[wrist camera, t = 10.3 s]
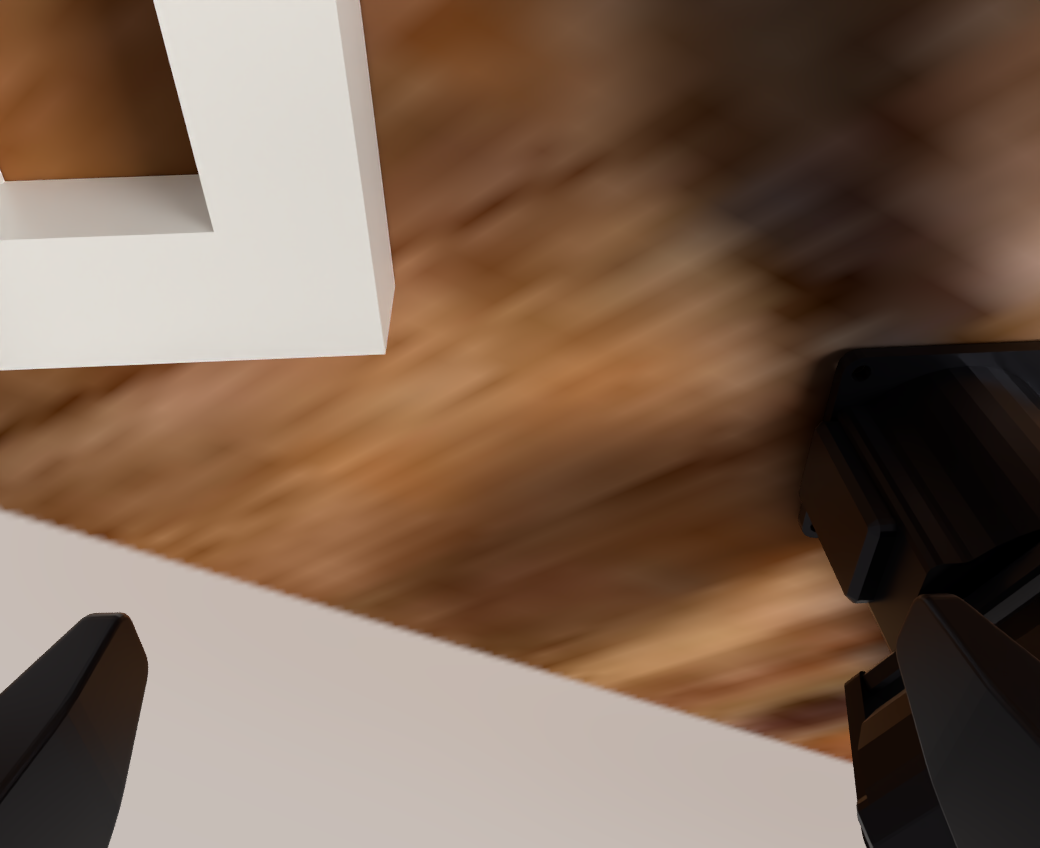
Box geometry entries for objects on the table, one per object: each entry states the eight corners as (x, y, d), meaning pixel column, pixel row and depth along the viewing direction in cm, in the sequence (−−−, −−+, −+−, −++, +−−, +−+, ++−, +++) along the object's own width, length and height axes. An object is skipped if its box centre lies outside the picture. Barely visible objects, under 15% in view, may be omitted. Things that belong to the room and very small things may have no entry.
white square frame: (319, -329, 13) (286, -351, 11) (395, 285, 20) (385, 354, 18) (-390, -314, 13) (-580, -333, 11) (-72, 304, 20) (-145, 376, 17)
